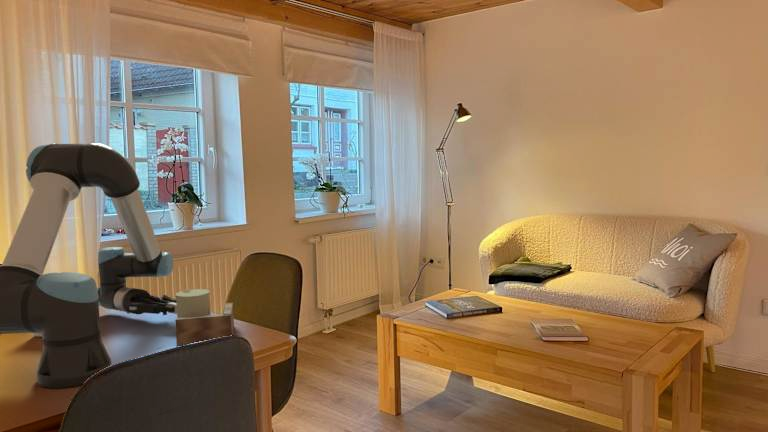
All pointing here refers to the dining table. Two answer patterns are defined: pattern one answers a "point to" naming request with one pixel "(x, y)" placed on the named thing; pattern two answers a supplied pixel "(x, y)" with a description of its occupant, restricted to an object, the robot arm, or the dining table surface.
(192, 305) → the can
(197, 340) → the v stop
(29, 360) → the dining table surface
